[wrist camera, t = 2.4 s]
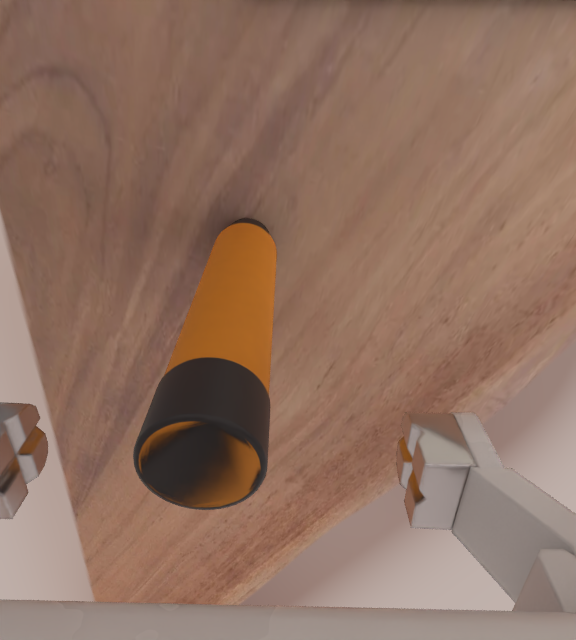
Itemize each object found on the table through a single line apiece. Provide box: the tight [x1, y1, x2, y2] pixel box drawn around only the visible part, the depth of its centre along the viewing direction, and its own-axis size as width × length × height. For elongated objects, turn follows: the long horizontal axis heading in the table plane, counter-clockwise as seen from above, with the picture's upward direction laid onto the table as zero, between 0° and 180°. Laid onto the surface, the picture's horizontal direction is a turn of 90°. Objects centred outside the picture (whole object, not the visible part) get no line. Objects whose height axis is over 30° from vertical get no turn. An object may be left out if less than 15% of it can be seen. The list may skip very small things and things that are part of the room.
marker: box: [133, 219, 277, 510], centre depth 15 cm, size 3×3×13 cm
